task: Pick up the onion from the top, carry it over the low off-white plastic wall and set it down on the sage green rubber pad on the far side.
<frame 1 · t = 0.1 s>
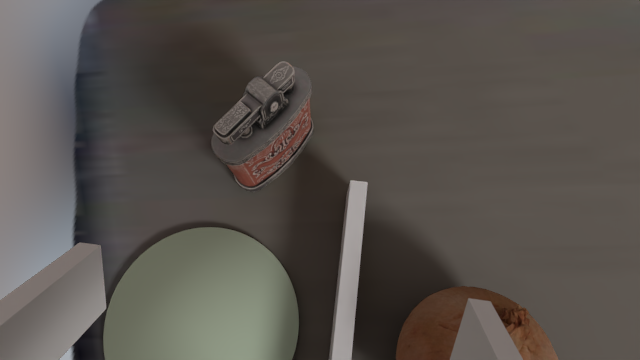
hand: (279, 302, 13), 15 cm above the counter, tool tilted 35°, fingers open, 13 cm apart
pad: (203, 323, 28), on the counter
lighter: (275, 153, 31), on the counter
low wall: (339, 341, 27), on the counter
onion: (448, 355, 27), on the counter
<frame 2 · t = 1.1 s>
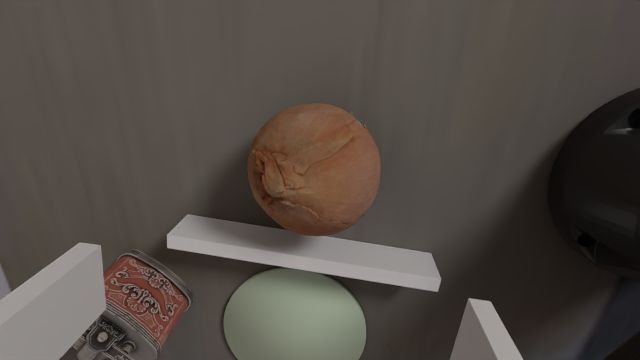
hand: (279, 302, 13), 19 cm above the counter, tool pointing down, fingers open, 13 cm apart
pad: (294, 328, 37), on the counter
lighter: (158, 277, 37), on the counter
low wall: (307, 239, 34), on the counter
onion: (319, 153, 31), on the counter
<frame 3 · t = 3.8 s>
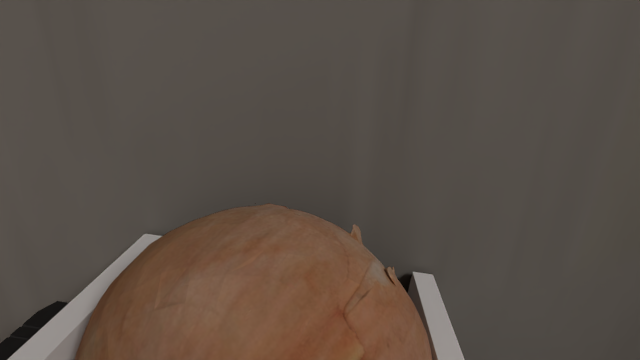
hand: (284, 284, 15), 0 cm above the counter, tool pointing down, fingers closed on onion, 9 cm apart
onion: (287, 278, 15), on the counter, touching gripper
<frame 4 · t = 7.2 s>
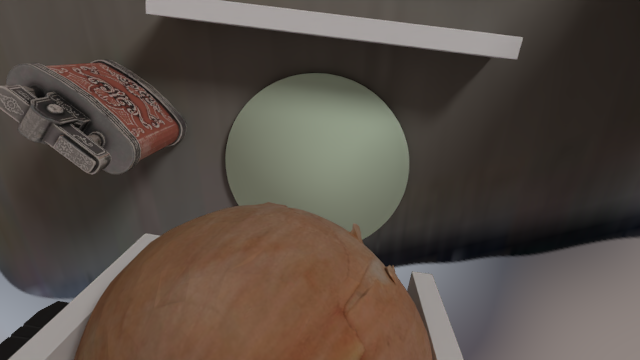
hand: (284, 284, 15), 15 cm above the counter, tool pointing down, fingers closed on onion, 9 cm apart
pad: (316, 166, 29), on the counter
lighter: (141, 102, 29), on the counter
low wall: (332, 28, 26), on the counter
onion: (287, 277, 15), point 15 cm above the counter, touching gripper
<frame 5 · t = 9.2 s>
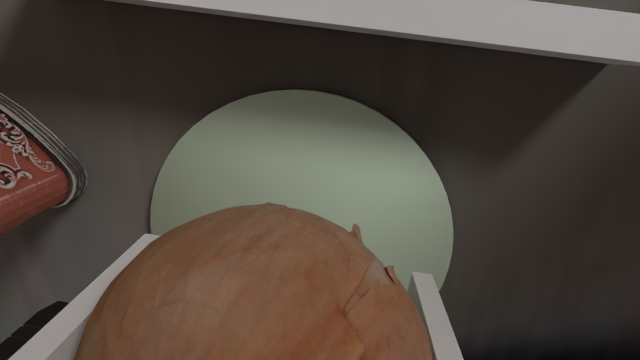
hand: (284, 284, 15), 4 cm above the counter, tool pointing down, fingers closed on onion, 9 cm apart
pad: (299, 239, 18), on the counter
lighter: (12, 135, 17), on the counter
low wall: (324, 11, 14), on the counter
onion: (287, 278, 15), point 3 cm above the counter, touching gripper
when the fingers open (2 cm above the counter, at t = 10.5 s): onion drops 1 cm, resting on pad.
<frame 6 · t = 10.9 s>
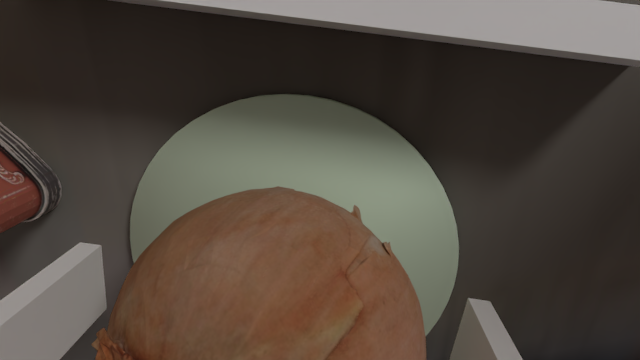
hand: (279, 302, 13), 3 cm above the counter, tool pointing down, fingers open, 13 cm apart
pad: (291, 255, 16), on the counter
low wall: (318, 8, 13), on the counter
onion: (293, 260, 16), resting on pad
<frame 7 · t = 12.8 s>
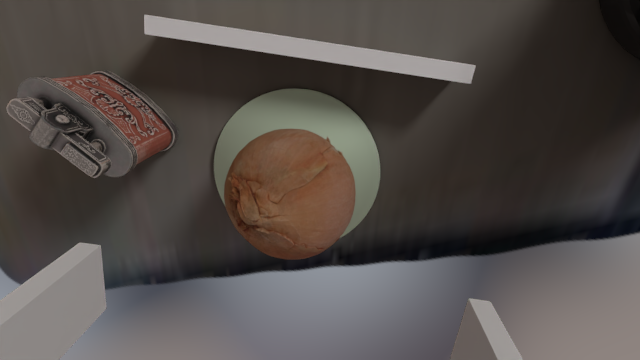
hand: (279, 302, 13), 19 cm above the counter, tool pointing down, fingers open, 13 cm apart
pad: (296, 172, 32), on the counter
lighter: (137, 110, 31), on the counter
low wall: (313, 49, 29), on the counter
onion: (297, 173, 32), resting on pad
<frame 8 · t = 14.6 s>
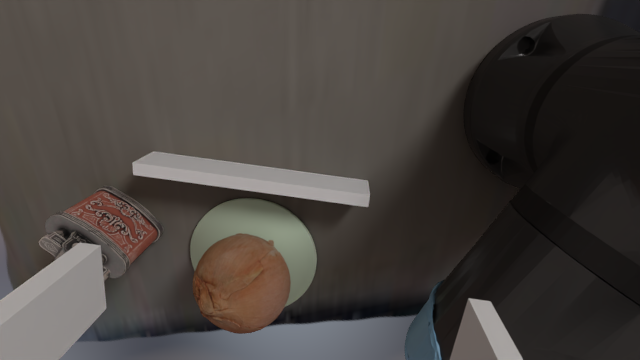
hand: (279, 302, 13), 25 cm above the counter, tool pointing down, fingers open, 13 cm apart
pad: (253, 256, 42), on the counter
lighter: (131, 212, 41), on the counter
low wall: (259, 171, 38), on the counter
onion: (254, 257, 41), resting on pad
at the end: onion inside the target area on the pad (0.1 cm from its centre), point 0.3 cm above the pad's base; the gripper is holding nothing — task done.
